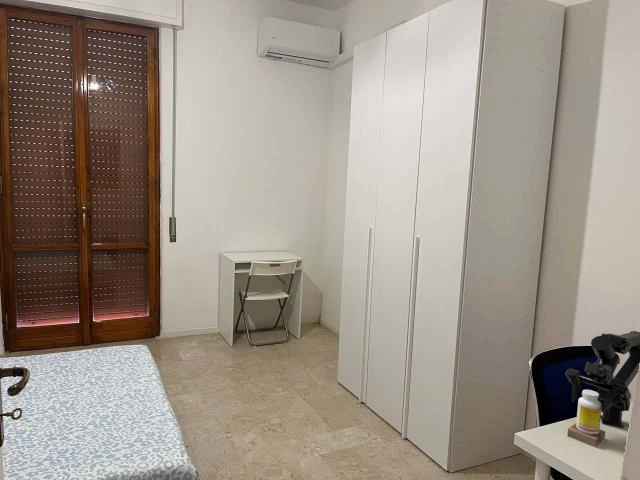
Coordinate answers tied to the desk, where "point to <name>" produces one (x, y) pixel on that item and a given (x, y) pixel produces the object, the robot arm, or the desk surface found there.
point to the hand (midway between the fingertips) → (586, 406)
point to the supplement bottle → (589, 412)
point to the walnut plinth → (586, 436)
